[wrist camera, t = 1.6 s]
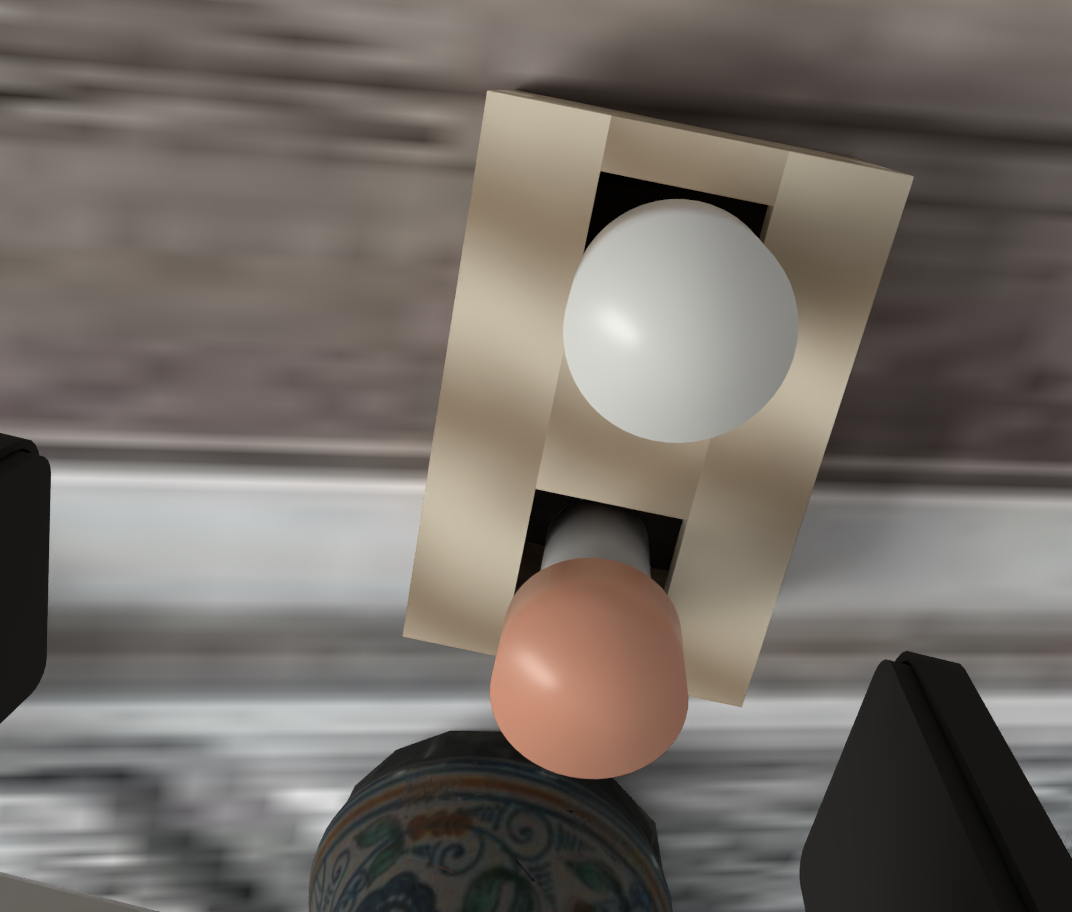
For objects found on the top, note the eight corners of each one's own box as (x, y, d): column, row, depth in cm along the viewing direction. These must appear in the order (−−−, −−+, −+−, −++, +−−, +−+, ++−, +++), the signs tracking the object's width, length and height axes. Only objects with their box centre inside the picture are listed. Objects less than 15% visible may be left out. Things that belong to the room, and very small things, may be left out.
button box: (514, 89, 33) (487, 90, 26) (856, 158, 33) (914, 176, 26) (439, 545, 39) (402, 636, 33) (722, 604, 39) (741, 706, 33)
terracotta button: (538, 462, 32) (508, 594, 24) (688, 493, 32) (710, 636, 24) (511, 593, 34) (475, 757, 26) (653, 622, 34) (662, 796, 26)
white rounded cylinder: (599, 161, 29) (588, 192, 20) (768, 195, 29) (828, 241, 20) (565, 327, 31) (543, 418, 22) (724, 359, 30) (762, 463, 22)
